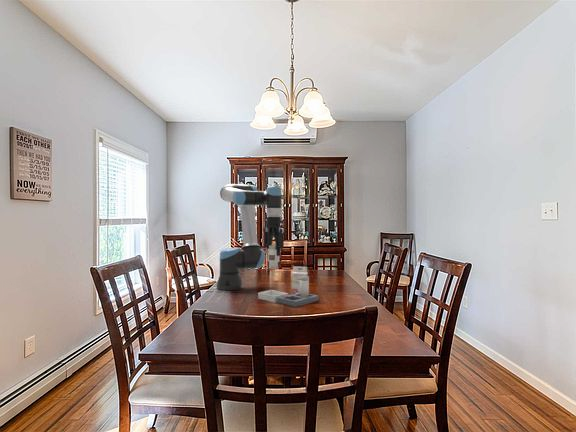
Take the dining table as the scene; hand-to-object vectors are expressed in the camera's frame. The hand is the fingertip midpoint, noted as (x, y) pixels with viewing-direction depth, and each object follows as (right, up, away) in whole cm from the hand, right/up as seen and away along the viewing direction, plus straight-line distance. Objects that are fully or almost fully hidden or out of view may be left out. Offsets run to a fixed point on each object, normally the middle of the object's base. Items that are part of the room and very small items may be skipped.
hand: (273, 261), depth 187 cm
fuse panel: (+13, -20, -5) cm, 24 cm away
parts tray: (0, -19, 0) cm, 19 cm away
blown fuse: (0, -4, 0) cm, 4 cm away
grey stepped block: (+14, -20, +14) cm, 28 cm away
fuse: (+16, -20, -2) cm, 25 cm away
